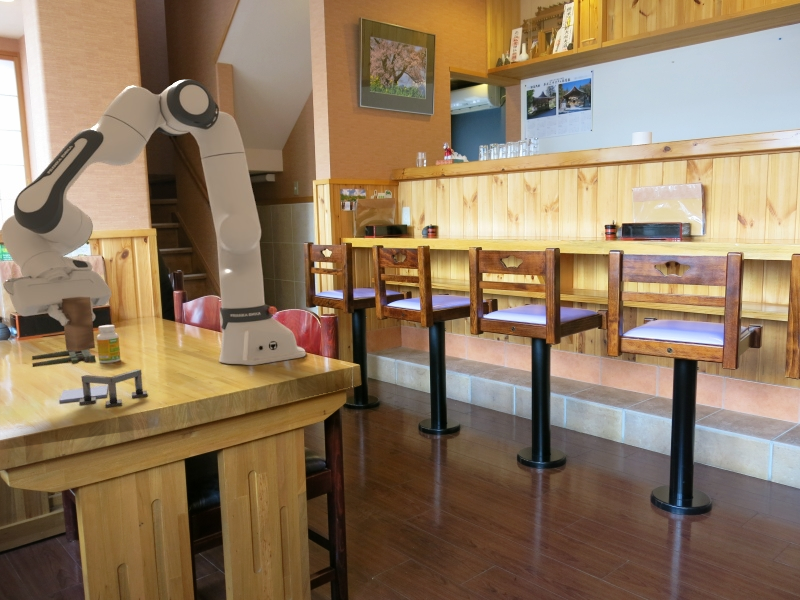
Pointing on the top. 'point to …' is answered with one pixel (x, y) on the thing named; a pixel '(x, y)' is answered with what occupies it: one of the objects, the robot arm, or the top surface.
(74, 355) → the miniature torii gate
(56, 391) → the top surface
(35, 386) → the top surface
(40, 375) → the top surface
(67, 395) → the pad
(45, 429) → the top surface
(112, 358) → the supplement bottle
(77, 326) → the walnut peg
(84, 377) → the bent rail on posts
